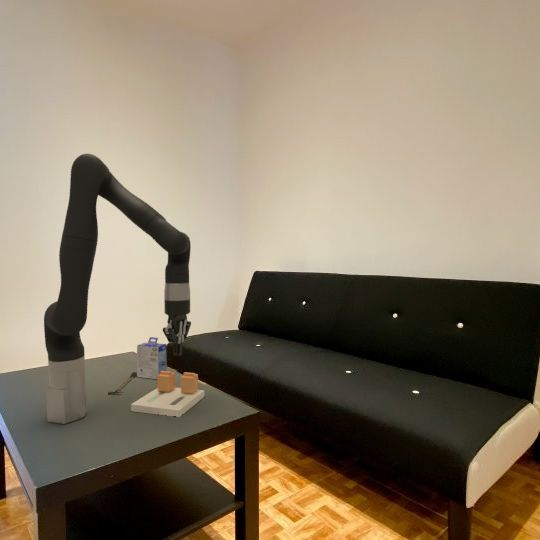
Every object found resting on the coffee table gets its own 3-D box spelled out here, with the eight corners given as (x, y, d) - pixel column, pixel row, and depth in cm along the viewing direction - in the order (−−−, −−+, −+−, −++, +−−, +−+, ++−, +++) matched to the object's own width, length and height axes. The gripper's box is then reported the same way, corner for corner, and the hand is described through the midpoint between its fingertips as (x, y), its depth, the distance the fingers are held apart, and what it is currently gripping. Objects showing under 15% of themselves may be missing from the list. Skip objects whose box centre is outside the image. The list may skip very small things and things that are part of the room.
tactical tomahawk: (126, 398, 129) (126, 394, 129) (106, 396, 129) (107, 393, 129) (149, 376, 150) (149, 373, 149) (132, 374, 150) (132, 371, 150)
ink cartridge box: (167, 375, 148) (167, 337, 147) (159, 380, 143) (158, 341, 142) (145, 372, 151) (145, 335, 150) (136, 377, 146) (135, 339, 145)
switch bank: (179, 417, 111) (179, 410, 111) (131, 411, 116) (130, 404, 116) (204, 396, 127) (204, 390, 126) (160, 391, 131) (160, 385, 131)
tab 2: (192, 393, 123) (191, 375, 123) (180, 392, 124) (180, 374, 124) (198, 389, 127) (197, 371, 126) (187, 388, 128) (186, 370, 128)
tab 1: (168, 392, 125) (168, 374, 124) (157, 390, 126) (157, 373, 125) (175, 387, 128) (174, 370, 128) (164, 386, 129) (163, 369, 129)
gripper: (176, 301, 110) (177, 362, 110) (199, 296, 122) (199, 350, 123) (153, 300, 112) (154, 359, 113) (177, 295, 124) (178, 349, 125)
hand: (177, 355), depth 118 cm, fingers closed
